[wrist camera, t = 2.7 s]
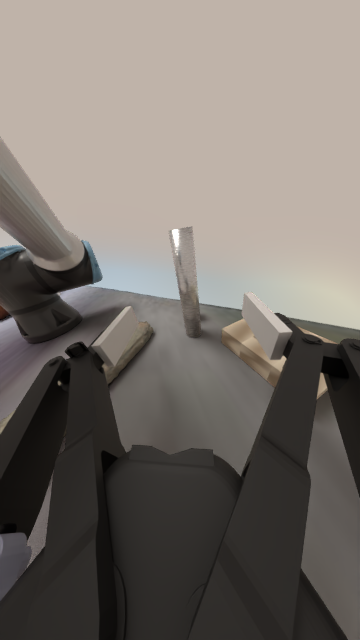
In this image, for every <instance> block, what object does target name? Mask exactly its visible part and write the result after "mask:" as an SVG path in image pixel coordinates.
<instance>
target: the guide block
mask: <svg viewBox="0 0 360 640" xmlns="http://www.w3.org/2000/svg"><path fill="white" fill-rule="evenodd" d="M298 328H299V327H298ZM299 329H300V330H301V331H302V332H304V333H305V334H311V335H314V336H317V337H318V338H320V339H322V340H323V341H324V342H327V343H334V344H337V343H335V342H332V341H330V340H328V339H325V338H323V337H321V336H318V335H316V334H314V333H311V332H309V331H306V330H304V329H302V328H299ZM222 343H223V344H224V345H225V346H227V347H228V348H229V349H230V350H231V351H232V352H234V353H235V354H236V355H237V356H238V357H239V358H241V359H242V360H243V361H244V362H245V363H246V364H248V365H249V366H250V367H251V368H252V369H254V370H255V371H256V372H257V373H258V374H259V375H261V376H262V377H263V378H264V379H265V380H266V381H268V382H269V383H270V384H271V385H272V386H273V387H276V384H277V382H278V379H279V377H280V374H281V371H282V369H283V368H282V367H283V365H284V363H285V361H286V357H284V356H282V358H281V360H269V358H268V356H267V355H266V353H265V352H264V350H263V348H262V347H261V345H260V343H259V342H258V340H257V339H256V337H255V335H254V334H253V332H252V330H251V329H250V327H249V326H248V324H247V322H246V321H245V319H242V320H240V321H237V322H235V323H233V324H231V325H229V326H227V327H225V328H223V329H222ZM327 390H328V389H327V386H326V382H325V379H324V375H323V373H321V374H320V381H319V387H318V394H317V399H318V398H319V397H320V396H321V395H323V394H324V393H325V392H326V391H327Z"/></svg>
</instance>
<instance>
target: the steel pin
mask: <svg viewBox="0 0 360 640" xmlns="http://www.w3.org/2000/svg"><path fill="white" fill-rule="evenodd" d="M169 236H170V241H171V247H172V253H173V259H174V265H175V271H176V276H177V282H178V288H179V294H180V299H181V305H182V311H183V317H184V323H185V328H186V334H187V336H188V337H191V338H196V337H198V336H200V335H201V322H200V311H199V300H198V287H197V276H196V264H195V253H194V241H193V230H192V227H186V228H181V229H176V230H172V231H169Z"/></svg>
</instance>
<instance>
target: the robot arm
mask: <svg viewBox="0 0 360 640" xmlns="http://www.w3.org/2000/svg"><path fill="white" fill-rule="evenodd" d="M0 227H1V228H2V229H3V230H5V231H6V232H7V233H8V234H10V235H11V236H12V237H13V238H14V239H16V240H17V241H18V242H19V243H21V244H22V245H23V246H24V247H26V249H25V248H23V247H22V246H20V245H12V246H5V247H1V248H0V305H1V306H2V307H3V308H4V309H5V310H6V311H7V312H8V313H9V314H10V315H11V316H12V317H13V318H14V319H15V321H16V324H17V326H18V328H19V330H20V333H21V335H22V337H23V338H24V339H25V340H27V341H28V342H29V343H39V342H43V341H47V340H50V339H52V338H55V337H57V336H59V335H61V334H63V333H65V332H67V331H69V330H70V329H72V328H73V327H75V326H76V325H77V324H78V323H79V322H80V321H81V320H82V316H81V315H80V314H79V312H78V311H77V310H75V309H74V308H73V307H71V306H70V305H68V304H67V303H66V302H64V301H63V300H62V299H61V298H60V296H59V295H58V294H57V293H59V292H63V291H66V290H70V289H74V288H78V287H81V286H85V285H89V284H94V283H96V282H99V281H101V280H102V274H101V271H100V268H99V266H98V263H97V260H96V258H95V255H94V253H93V250H92V248H91V246H90V244H89V242H87V241H83V240H82V241H80V239H79V238H78V237H77V236H76V235H74V234H73V233H71V232H69V231H67V230H65V229H64V227H63V226H62V224H61V223H60V221H59V220H58V219H57V217H56V216H55V214H54V213H53V211H52V210H51V209H50V207H49V206H48V204H47V203H46V201H45V200H44V199H43V197H42V196H41V194H40V193H39V191H38V190H37V189H36V187H35V186H34V184H33V183H32V181H31V180H30V179H29V177H28V176H27V174H26V173H25V171H24V170H23V169H22V167H21V166H20V164H19V163H18V162H17V160H16V159H15V157H14V156H13V154H12V153H11V151H10V150H9V149H8V147H7V146H6V144H5V143H4V142H3V140H2V139H1V137H0ZM242 316H243V317H244V319H245V321H246V322H247V324H248V326H249V327H250V329H251V330H252V332H253V334H254V335H255V337H256V339H257V340H258V342H259V343H260V345H261V347H262V348H263V350H264V352H265V353H266V355H267V356H268V358H269V360H281V358H282V356H283V355H284V356H285V357H286V361H285V363H284V365H283V367H282V368H283V369H282V371H281V374H280V377H279V379H278V382H277V384H276V387H275V390H274V392H273V395H272V397H271V400H270V403H269V405H268V408H267V411H266V413H265V416H264V418H263V421H262V424H261V426H260V429H259V431H258V434H257V437H256V439H255V442H254V445H253V447H252V450H251V452H250V454H249V457H248V459H247V462H246V464H245V467H244V469H243V472H242V474H241V477H240V476H239V474H238V473H237V472H236V471H235V470H234V469H233V468H232V467H231V465H229V464H228V463H227V462H226V461H225V460H223V459H222V458H220V457H218V456H216V455H214V454H213V450H210V449H194V448H191V449H188V450H185V451H182V452H179V453H175V454H172V455H169V454H166V453H164V452H162V451H160V450H158V449H156V448H154V447H152V446H144V445H132V448H131V451H129V452H127V453H126V452H125V449H124V448H123V446H122V444H121V442H120V438H119V433H118V429H117V425H116V420H115V416H114V411H113V407H112V402H111V398H110V394H109V389H108V385H107V380H106V376H105V371H104V368H103V367H102V365H103V364H104V363H105V364H106V366H107V367H115V365H116V364H117V362H118V360H119V358H120V357H121V355H122V353H123V351H124V350H125V348H126V346H127V344H128V343H129V341H130V339H131V337H132V336H133V334H134V332H135V330H136V329H137V327H138V325H139V323H138V320H137V318H136V316H135V313H134V311H133V308H132V306H129V307H125V308H124V309H123V311H122V312H121V313H120V314H119V315H118V316H117V317H116V319H115V320H114V321H113V322H112V323H111V324H110V325H109V326H108V328H107V329H106V330H104V331H103V332H102V333H101V334H100V335H99V336H98V337H97V338H96V339H95V340H94V341H93V343H92V344H91V345H90V346H89V347H88V348H87V347H86V346H85V344H84V343H83V342H77V343H74V344H72V345H71V346H69V347H68V348H67V349H66V350H65V353H66V354H67V355H68V356H69V357H70V358H69V359H66V360H65V359H64V358H63V357H62V356H58V357H55V358H53V359H52V360H50V361H49V362H47V363H46V364H45V365H44V367H43V368H42V370H41V372H40V373H39V375H38V376H37V378H36V379H35V381H34V383H33V384H32V386H31V387H30V389H29V390H28V392H27V393H26V395H25V397H24V398H23V400H22V401H21V403H20V404H19V406H18V407H17V409H16V411H15V412H14V414H13V415H12V417H11V418H10V420H9V421H8V423H7V425H6V426H5V428H4V429H3V431H2V432H1V434H0V640H348V639H347V637H346V636H345V634H344V633H343V631H342V630H341V628H340V627H339V625H338V624H337V622H336V621H335V619H334V618H333V616H332V615H331V613H330V612H329V610H328V609H327V607H326V606H325V604H324V603H323V601H322V600H321V598H320V596H319V595H318V593H317V592H316V590H315V589H314V587H313V586H312V584H311V583H310V581H309V580H308V578H307V577H306V575H305V574H304V572H303V571H302V569H301V560H302V552H303V544H304V536H305V528H306V520H307V512H308V504H309V496H310V486H311V479H310V474H309V472H308V470H307V461H308V454H309V448H310V441H311V434H312V427H313V421H314V414H315V407H316V401H317V394H318V387H319V381H320V374H321V373H323V375H324V379H325V382H326V386H327V389H328V392H329V396H330V399H331V402H332V406H333V409H334V412H335V416H336V419H337V423H338V426H339V429H340V433H341V436H342V439H343V443H344V446H345V449H346V453H347V456H348V460H349V463H350V466H351V470H352V473H353V476H354V480H355V483H356V487H357V490H358V493H359V497H360V340H356V339H344V340H342V341H341V343H340V344H334V343H327V342H324V341H323V340H322V339H320V338H318V337H317V336H314V335H311V334H305V333H304V332H302V331H301V330H300V329H299V328H298V327H297V326H296V325H295V324H293V323H292V322H291V321H290V320H289V319H288V318H287V317H286V316H284V315H282V314H280V313H273V312H272V311H271V310H270V309H269V308H268V307H267V306H266V305H265V304H264V303H263V302H262V301H261V300H260V299H259V298H258V297H257V296H255V294H254V293H252V292H248V293H245V294H244V300H243V308H242ZM58 381H59V382H60V383H61V384H60V386H59V385H58ZM66 426H67V432H66V446H65V450H64V451H63V452H62V453H60V454H59V455H58V452H59V449H60V446H61V442H62V439H63V436H64V432H65V429H66ZM57 456H58V457H57ZM53 469H54V473H53V482H52V491H51V500H50V509H49V517H48V526H47V535H46V544H45V547H44V548H43V549H42V550H41V552H40V553H39V554H38V555H37V557H36V558H35V559H34V560H33V562H32V563H31V564H30V565H29V566H28V568H27V569H26V567H27V565H28V563H29V560H30V557H31V553H32V550H31V547H29V546H28V547H26V545H27V540H28V538H29V536H30V534H31V532H32V529H33V527H34V525H35V522H36V520H37V517H38V515H39V512H40V510H41V507H42V504H43V501H44V498H45V495H46V492H47V489H48V485H49V482H50V479H51V475H52V472H53ZM25 569H26V570H25ZM24 570H25V571H24ZM23 572H24V573H23ZM22 573H23V574H22ZM19 577H20V578H19ZM18 578H19V579H18ZM17 579H18V580H17ZM16 580H17V581H16Z"/></svg>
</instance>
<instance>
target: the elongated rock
mask: <svg viewBox="0 0 360 640" xmlns="http://www.w3.org/2000/svg"><path fill="white" fill-rule="evenodd" d="M152 332H154V331H153V328H152V327H150V325H149V324H148V323H147V321H146V322H140V323H139V325H138V327H137V329H136V330H135V332H134V334H133V336H132V337H131V339H130V341H129V343H128V344H127V346H126V348H125V350H124V351H123V353H122V355H121V357H120V358H119V360H118V362H117V364H116V365H115V367H107V366H106V364H105V363H104V364H103V365H102V367H103V368H104V371H105V376H106V380H107V385H108V384H109V383H110V382H112V380H113V379H114V378H116V377H117V376H118V374H119V372H120V371H121V370H122V369H124V368H125V366H126V365H127V363H128V362H129V361H130V360H131V359H132V358H133V357H134V356H135V355H136V354H137V353H138V352H139V351H140V350H141V349H142V348H143V347H144V345H145V344H146V343H147V341H148V340H149V339H150V336H151V333H152ZM60 384H61V383H60V382H59V381H58V385H59V386H60ZM15 411H16V410H15ZM15 411H13V412H12V413H11V414H10V415H9V416H8V417H6V418H4V419H3V420H2V421H1V422H0V434H1V432H2V431H3V429H4V428H5V426H6V425H7V423H8V421H9V420H10V418H11V417H12V415H13V414H14V412H15ZM66 432H67V426H66V429H65V432H64V436H65V435H66ZM64 436H63V437H64Z"/></svg>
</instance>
